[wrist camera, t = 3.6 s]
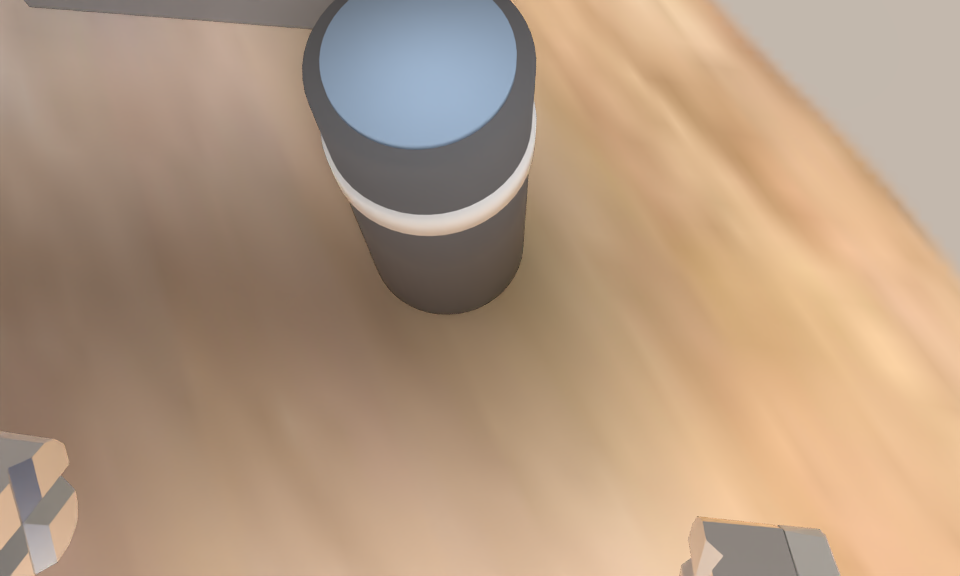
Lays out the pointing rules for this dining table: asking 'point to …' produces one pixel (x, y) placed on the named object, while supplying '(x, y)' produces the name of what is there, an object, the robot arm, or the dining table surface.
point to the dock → (206, 10)
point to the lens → (429, 138)
